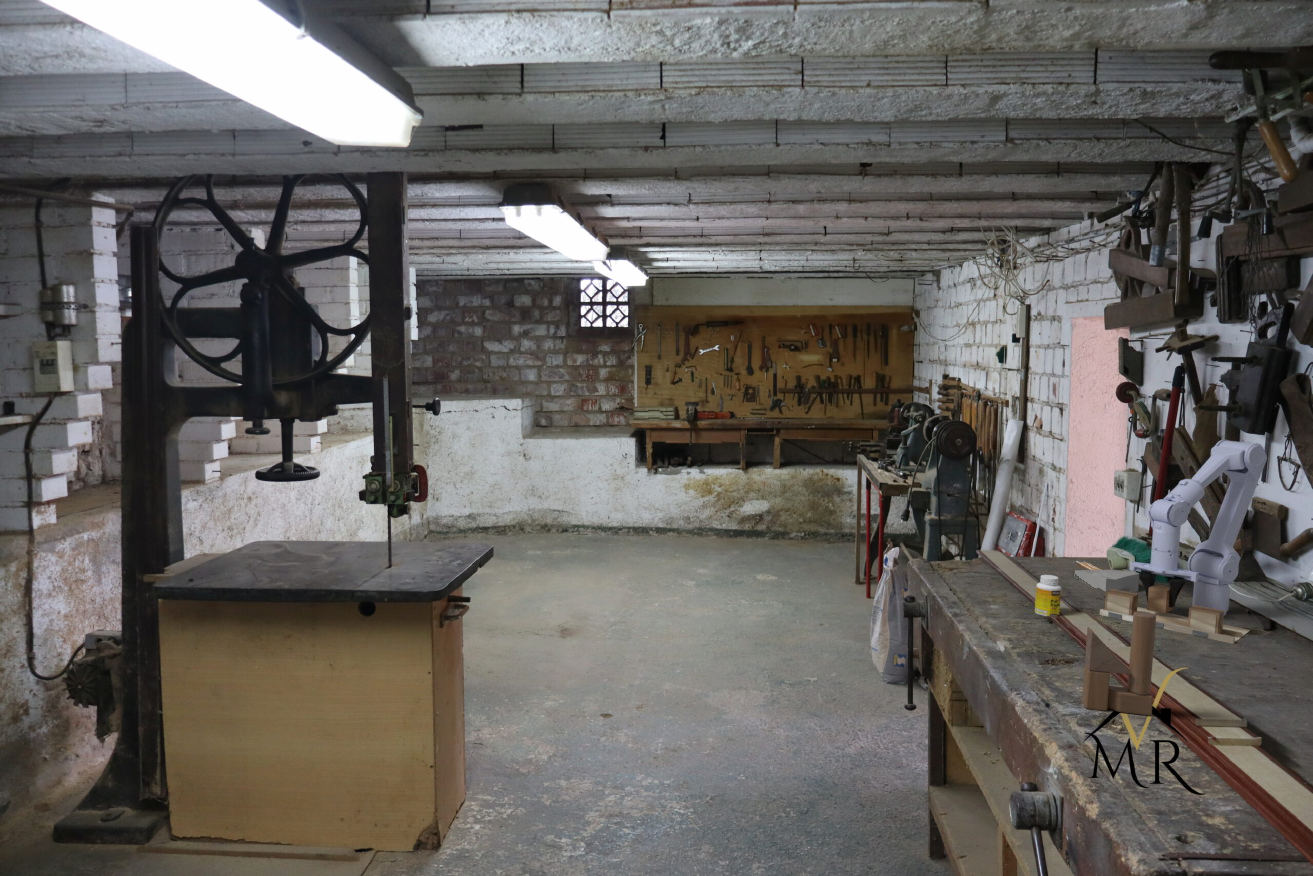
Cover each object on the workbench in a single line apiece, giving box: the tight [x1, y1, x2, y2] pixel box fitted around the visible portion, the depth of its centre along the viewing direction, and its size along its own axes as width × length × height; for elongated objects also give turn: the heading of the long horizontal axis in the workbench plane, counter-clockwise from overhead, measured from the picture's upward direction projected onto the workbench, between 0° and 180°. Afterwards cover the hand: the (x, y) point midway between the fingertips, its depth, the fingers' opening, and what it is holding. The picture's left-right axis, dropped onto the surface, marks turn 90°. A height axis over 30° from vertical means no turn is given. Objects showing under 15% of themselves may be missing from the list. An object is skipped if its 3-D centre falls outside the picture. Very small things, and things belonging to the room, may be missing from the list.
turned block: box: [1146, 583, 1174, 613], centre depth 217 cm, size 4×6×6 cm
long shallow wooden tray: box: [1099, 606, 1251, 645], centre depth 212 cm, size 15×28×2 cm, turn 44°
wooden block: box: [1081, 611, 1157, 716], centre depth 160 cm, size 4×11×18 cm, turn 76°
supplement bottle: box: [1034, 574, 1062, 618], centre depth 216 cm, size 6×6×10 cm
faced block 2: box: [1187, 605, 1225, 634], centre depth 204 cm, size 4×6×6 cm
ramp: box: [1074, 568, 1140, 593], centre depth 251 cm, size 28×16×5 cm, turn 156°
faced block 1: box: [1104, 589, 1139, 616], centre depth 216 cm, size 4×6×6 cm
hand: (1160, 604), depth 217 cm, fingers closed on turned block, 4 cm apart
